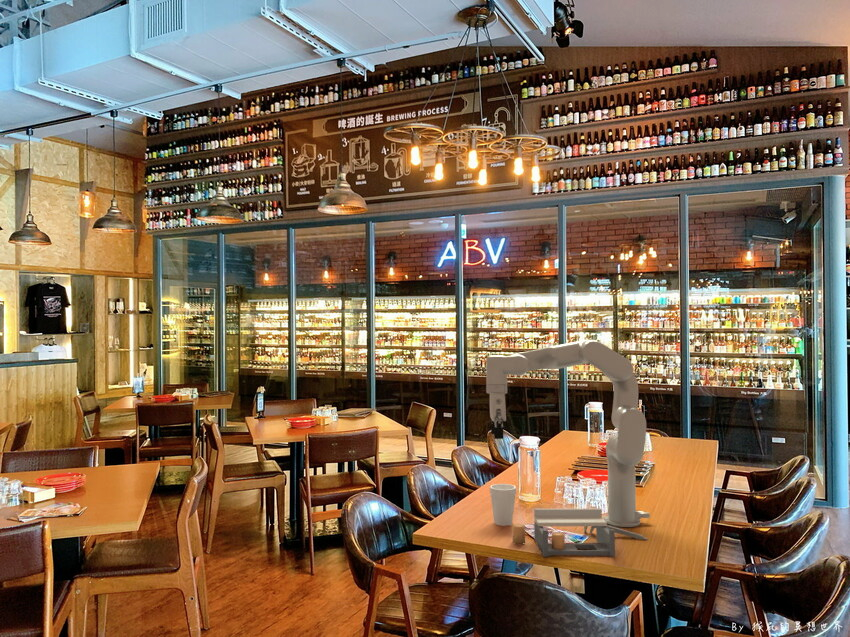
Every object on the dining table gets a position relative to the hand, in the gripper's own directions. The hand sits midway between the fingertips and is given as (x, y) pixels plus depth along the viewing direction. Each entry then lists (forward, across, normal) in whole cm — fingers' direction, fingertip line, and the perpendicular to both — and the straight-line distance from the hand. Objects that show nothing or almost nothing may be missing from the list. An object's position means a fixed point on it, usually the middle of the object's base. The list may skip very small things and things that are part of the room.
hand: (497, 436), depth 228 cm
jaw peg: (+31, -21, -4) cm, 38 cm away
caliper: (+32, -15, -38) cm, 52 cm away
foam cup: (+31, 0, -2) cm, 31 cm away
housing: (+31, -27, -21) cm, 46 cm away
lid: (+25, -23, -21) cm, 39 cm away
